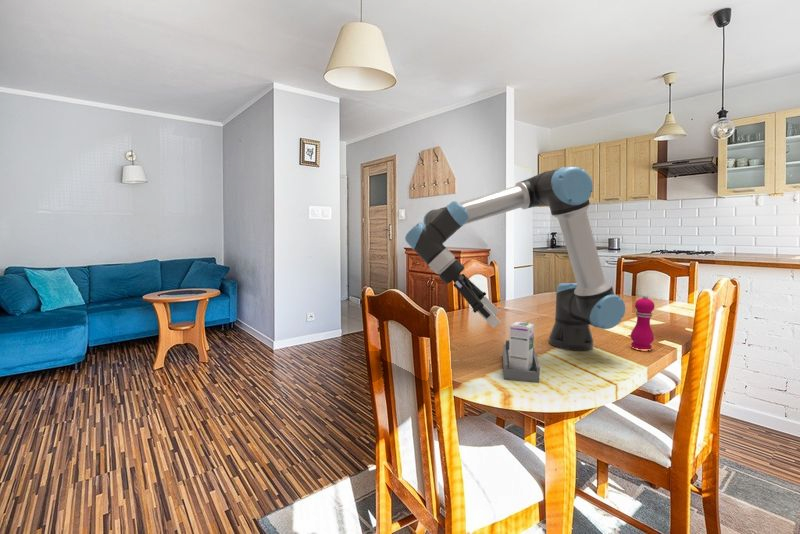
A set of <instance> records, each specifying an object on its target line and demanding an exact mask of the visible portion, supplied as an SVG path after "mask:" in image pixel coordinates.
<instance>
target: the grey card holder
mask: <svg viewBox="0 0 800 534" xmlns="http://www.w3.org/2000/svg"><path fill="white" fill-rule="evenodd" d="M508 350H509V339H506V340H505V344H503V347H502V365H503V368H504V369H503V368H502V369H503V379H504V380H510V381H521V382H522V381H523V382H530V383H531V382H532V383H533V382H534V383H540V378H541V377H540V373H541V372H540V371H541V367H540V363H539V360H538V357H537V353H536V350H535V347H534V346H533V370H532V371H525V370H514V369H509V365H508V363H507V357H508Z"/></svg>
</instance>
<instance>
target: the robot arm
mask: <svg viewBox="0 0 800 534" xmlns="http://www.w3.org/2000/svg"><path fill="white" fill-rule="evenodd" d="M593 190H594V184H593V180H592V178H591V176H590V174H589V173H588V172H587V171H586V170H585V169H582V168H581V167H578V166H564V167H563V166H562V167H561V168H557V169H552V170H546V171H543V172H541V173H539V174H536V175H534V176H532V177H529V178H526V179H524V180H521V181H518V182H516V183H515V185H514V186H511V187H508V188H504V189H501V190H499V191H498V190H497V191H495V192H491V193H487V194H485V195H481V196H480V195H479V196H477V197H474V198H471V199H467V200H465V201H461V202H458V201H455V200H454V201H451V202H450V203H448V204H447V205H445V206H444V207H441V208H437V209H431V210H430V211H428V212H427V213H426V214H425V215H424V217H423V222H421V221H420V222H418V223H416V225H414V226H413V227H412V228H411V229H410V230H409V231H408V232H407V233H406V234H405V238H404V240H405V241H406V243H407V244H408V245H409V247H410V248H411V249H412V250H413V251H414V252H415V253H416V254H417V256H419V258H421V259H422V260H423V261H424V262H425V263H426V264H427V265H428V266H429V267H428V268H429V270H430V271H433V272H434V273H435V274H436V275H438V276H439V279H441V281H442V282H443V283H444V284H445V285H449V284H450V283H451V282H453V287H454V288H455V289H456V290H457V291H458V292H459V293H460V294H461V295H462V297H463V298H464V299H465V301H466V302H467V303H468V304H469V306H470V307H471V308H472V312H473V313H475V314H476V313H478V314H479V315H480V316H481V317H482V318H483V319H484V320H485V321H486V323H488V324H489V325H490V327H491V328H492V329H494V328H496V327H497V326H498V325H499V324H500V323H501V322H502V321H500V319H499V318H498V317H497V316H496V315H498V314H499V313H500V310H499V309H498V307H496V306H495V304H493V303H492V301H491V300H490V299H489V298H488V297H487V296H486V295H487V293H486V291H483V290H481V289H480V288H479V287H478V286H476V284H474V282H472V281H471V280H470V279H469V278H468V277H467V276H466V275H465V274H464V273H462V272H463V271H464V270H465V266H464V265H463V263H461V262H460V261H459V259H456V256H455V255H454V254H453V252H451V251H450V250H449V249H448V248H447V247H446V246H445V245H444V243H446V241H447V240H449V239H450V238H451V237H452V236H453V235H454V234H455V233H456V232H457V231H458V230H460V229H461V228H462V227H463V226H465V225H467V224H471V223H474V222H478V221H481V220H484V219H488V218H491V217H494V216H497V215H501V214H505V213H507V212H510V211H514V210H516V209H522V210H527V209H531V208H537V207H549V209H550V213H551V216H552V217H554V218H556V219H558V223H559V227H560V230H561V234H562V238H563V241H564V243H565V248H566V250H567V253H568V258H569V261H570V264H571V267H572V271H573V276H574V279H575V282H569V283H568V282H564V283H563V282H562V283H559V284H558V285H557V286H556V293H555V294H556V299H555V317H554V318H555V319H554V324H553V327H552V329H551V331H550V333H549V336H548V338H549V339H548V344H550V345H551V346H554V347H556V348H559V349H563V350H569V351H570V350H571V351H589V350H592V349H593V348H594V338H593V334H592V331H591V329H590V328H591V327H590V326H592V327H594V328H598V329H603V330H608V329H609V330H610V329H612V328H615V327H616V326H618V325H619V324H620V323H621V321H622V319H623V318H624V317H625V313H626V304H625V302H624V300H623V298H622V297H620V296H619V295H618V294H615V293H614V288H613V285H612V283H611V282H610V281H607V279H605V275H604V270H603V268H602V263H601V260H600V257H599V253H598V250H597V244H596V242H595V241H596V240H595V238H594V234H593V231H592V227H591V226H592V225H591V224H590V220H589V216H588V212H587V210H589V209H588V208H589V207H590V205H591V203H590V200H589V199H590V198H591V197H592V193H593Z"/></svg>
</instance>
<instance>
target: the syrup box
mask: <svg viewBox="0 0 800 534" xmlns="http://www.w3.org/2000/svg"><path fill="white" fill-rule="evenodd" d="M534 331H535V323H532V322H526V321H515V322H514V323H512V324H511V325H509V339H508V340H509V369H514V370H525V371H532V370H533V347H534V342H535V341H534V338H535V337H534V335H535V333H534Z"/></svg>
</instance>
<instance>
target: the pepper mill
mask: <svg viewBox="0 0 800 534" xmlns="http://www.w3.org/2000/svg"><path fill="white" fill-rule="evenodd" d="M655 306H656V305H655V302H654V301H653V300H651V299H649V295H648V294H646V293H644V294H642V298H639V299H637V300H636V301H635V303H634V308H635V310H636V311H635V315H636V323H635V326H634V327H633V329H632V330H631V333H630V339H631V341H632V342H631V346H632V347H634V348H638V349H651V348H653V347H652V343H653V342H654V340H655V336H654V332H653V329H652V327H651V318H652V317H653V316H652V315H653V311H654V309H655ZM651 350H652V349H651Z"/></svg>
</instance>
